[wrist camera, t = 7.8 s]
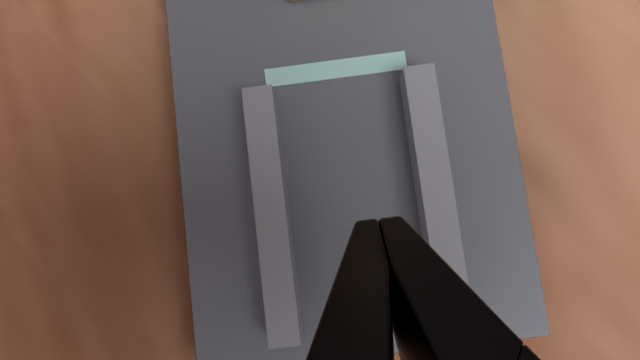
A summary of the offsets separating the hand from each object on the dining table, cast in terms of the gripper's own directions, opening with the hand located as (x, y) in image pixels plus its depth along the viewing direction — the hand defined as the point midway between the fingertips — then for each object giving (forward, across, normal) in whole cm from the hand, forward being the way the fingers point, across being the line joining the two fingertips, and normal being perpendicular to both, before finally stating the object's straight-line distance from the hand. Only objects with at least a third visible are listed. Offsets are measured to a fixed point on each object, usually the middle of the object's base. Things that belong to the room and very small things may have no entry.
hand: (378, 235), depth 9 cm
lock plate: (+13, 0, +6) cm, 14 cm away
